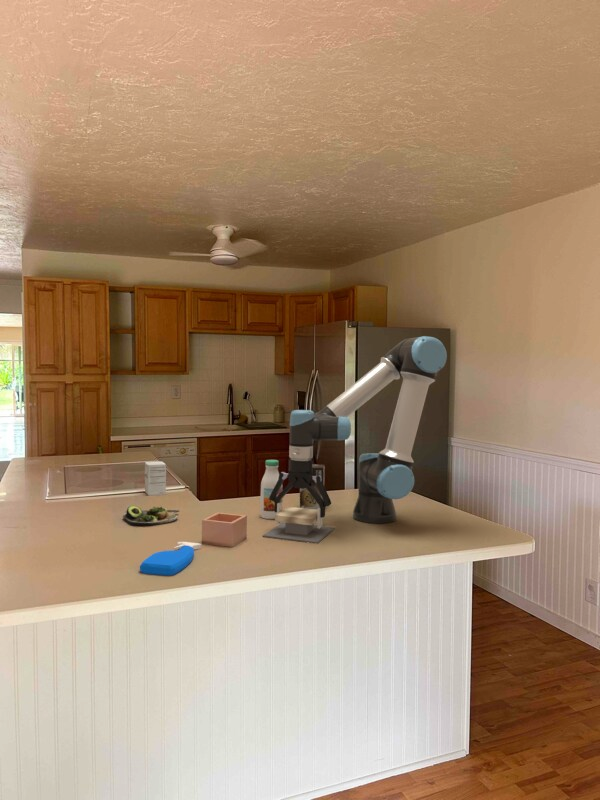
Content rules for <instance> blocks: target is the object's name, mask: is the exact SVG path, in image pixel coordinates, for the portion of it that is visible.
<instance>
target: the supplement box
mask: <svg viewBox="0 0 600 800" xmlns="http://www.w3.org/2000/svg"><path fill="white" fill-rule="evenodd" d="M144 493H146V495H148V496H161V495H166V494H167V464H166V463H165V462H164V461H162V460H161V461H160V460H159V461H158V460H156V461H145V462H144Z"/></svg>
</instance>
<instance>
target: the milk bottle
mask: <svg viewBox="0 0 600 800" xmlns="http://www.w3.org/2000/svg"><path fill="white" fill-rule="evenodd" d="M264 462H265V463H264V464H265V471H264V474H263V476H262V479H261V482H260V500H259V501H260V502H259V503H260V506H259V507H260V509H259V510H260V511H259V512H260V515H259V516H260V517H261V518H262V519H267V520H275V515H276V514H277V512H275V511H274V508H275V503H274V501H272V500H269V497H270V495H271V493H272V491H273V489H274V487H275V485H276V483H277V481H278V479H279V474H280V472H279V463H280V462H279V460H277V459H266V460H265V461H264ZM283 487H284V486H283V485H282V486H281V487H280V489H279V491H278V493H277V495H276V497H277V496H278V495H279V494H280V493H281V492H282V491H283V490H284V489H283ZM283 498H284V497H283ZM283 498H282V499H281V501H280V502H282V503H283Z"/></svg>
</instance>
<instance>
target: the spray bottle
mask: <svg viewBox="0 0 600 800" xmlns="http://www.w3.org/2000/svg"><path fill="white" fill-rule="evenodd" d="M173 549H175V550H163V551H157V552H154V553H152V554H151V555H149V556H148V557H147V558H145V559H144V560H143V561H142V562H141V564H139V570H140V573H142V574H147V575H157V576H158V575H159V576H168V577H169V576H170V577H171V576H174V575H176V574H178V573H179V572H181V571H182V570H184V569H186V567H188V566H189V564H190V563H192V560H193V559H194V556H195V550H198V549H202V543H197V542H189V541H177V546H174V547H173ZM176 549H177V550H176Z"/></svg>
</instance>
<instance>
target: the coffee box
mask: <svg viewBox="0 0 600 800" xmlns="http://www.w3.org/2000/svg"><path fill="white" fill-rule="evenodd" d="M325 469H326V467H325V464H313V467H312V474H313V476H319V475H321V476H322V482H323V484H324V485H325ZM311 483H312V484H313V486H314V488H315V490H316V491H317V492H318V494H319V495H320V496H321V493H320V491H319V489H318V486H317V483H316V482H315V481H314V480H312V482H311ZM321 498H322V496H321ZM322 499H323V498H322ZM323 501H324V500H323ZM318 507H319V504H318V503H317V502H316V500H315V499H314V498H313V496H312V495H311V493H310V492H309V491H308V490H307V489H306V488H304V489H301V488H299V508H306V509H315V510H318Z"/></svg>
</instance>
